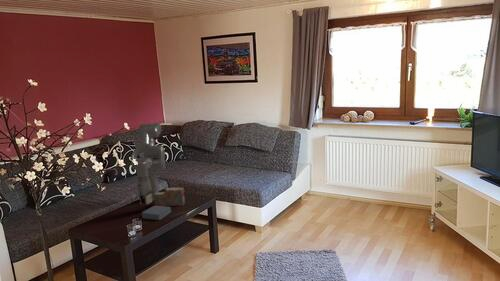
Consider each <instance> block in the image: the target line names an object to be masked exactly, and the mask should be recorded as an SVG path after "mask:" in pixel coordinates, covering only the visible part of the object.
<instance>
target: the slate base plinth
mask: <svg viewBox="0 0 500 281" xmlns="http://www.w3.org/2000/svg"><path fill="white" fill-rule="evenodd" d="M169 213H170V214H171V213H172V206H155V205H153V206H151V207H149V208H148V209H145V210H144V211H142V212H141V216H142V219H144V220H145V219H146V220H155V221H160V220H162V219H163V218H165V217H166V216H168V215H170V214H169Z"/></svg>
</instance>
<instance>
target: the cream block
mask: <svg viewBox="0 0 500 281" xmlns="http://www.w3.org/2000/svg"><path fill="white" fill-rule="evenodd" d="M142 197H143V195H142ZM144 198H145V204H144V205H146V206H147V205H150V203H153V201H152V195H151V194H149V193H147V194H146V195H144ZM139 204H140V205H143V204H142V203H141V199H140V198H139Z"/></svg>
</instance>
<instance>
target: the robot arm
mask: <svg viewBox="0 0 500 281" xmlns="http://www.w3.org/2000/svg"><path fill="white" fill-rule="evenodd" d="M161 133H162V124H160V123H159V122H152V123H143V124H142V123H141V124H140V125H138V145H137V147H135V149H134V150H133V151H132V154H131V158H130V159H131V162H130V166H131V168H132V169H134V170H136V178H137V197H138V198H139V200H140V199H141V203H142V204H141V205H146V204H145V198H144V195H146V194H147V193H149V194H151V195H152V202H153V201H154V202H155V199H154V194H155V193H156V192H160V191H159V190H160V188H159V182H158V181H159V180H158V176H157V173H156V172H160V171H164V170H165V169H166V154H165V153H166V151H165V148H164V146H163V145H161V144H160V145H158V144H157V145H156V143H155V138H158V137H159V136H160V134H161ZM141 153H143V156H144V157H141V158H137V157H138V156H139V155H140V154H141ZM133 159H136V161H137V162H138V165H134V164H133V162H132V160H133ZM142 195H143V197H142Z"/></svg>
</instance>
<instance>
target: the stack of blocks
mask: <svg viewBox="0 0 500 281" xmlns="http://www.w3.org/2000/svg"><path fill="white" fill-rule="evenodd" d="M154 199H155V200H154V206H165V207H177V206H178V207H179V206H184V205H185V203H186V201H185V200H186V199H185V189H184V187H167V188H166V189H165V191H159V192H156V193H155V194H154Z"/></svg>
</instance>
